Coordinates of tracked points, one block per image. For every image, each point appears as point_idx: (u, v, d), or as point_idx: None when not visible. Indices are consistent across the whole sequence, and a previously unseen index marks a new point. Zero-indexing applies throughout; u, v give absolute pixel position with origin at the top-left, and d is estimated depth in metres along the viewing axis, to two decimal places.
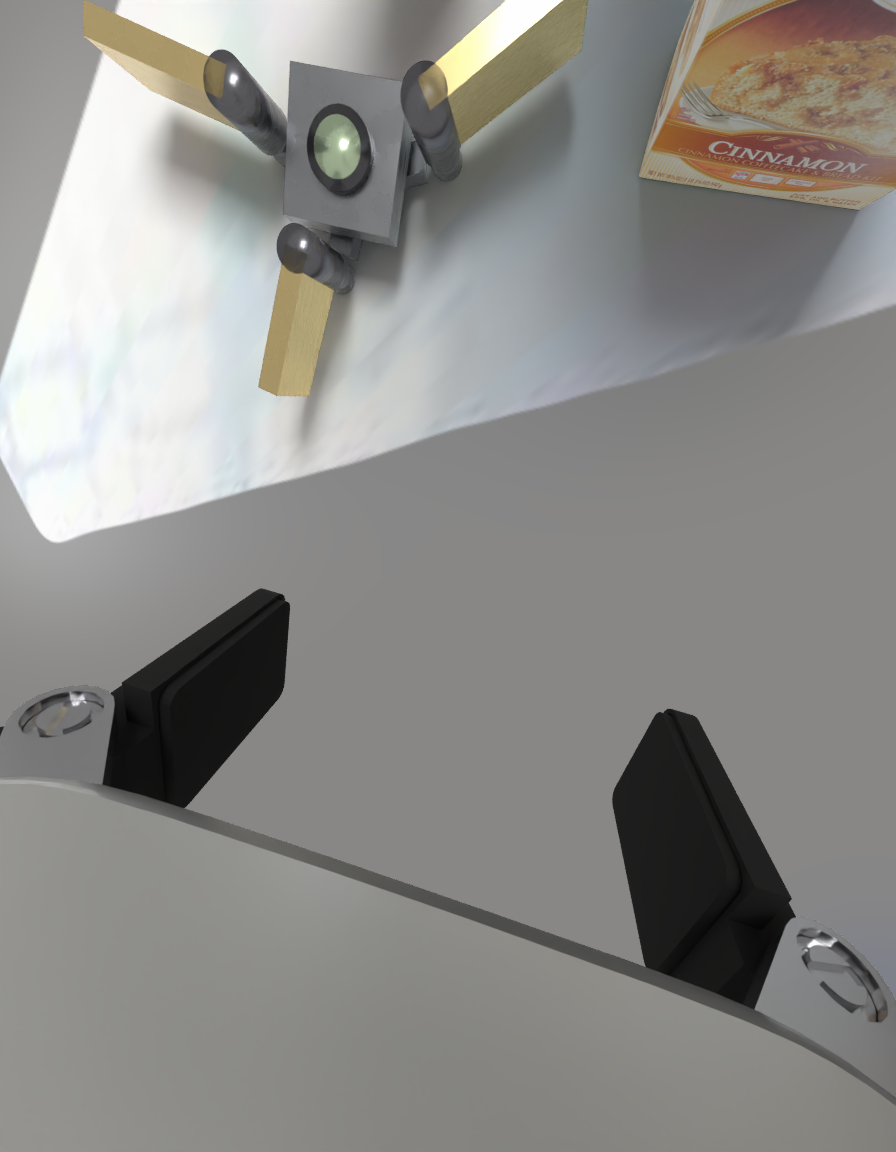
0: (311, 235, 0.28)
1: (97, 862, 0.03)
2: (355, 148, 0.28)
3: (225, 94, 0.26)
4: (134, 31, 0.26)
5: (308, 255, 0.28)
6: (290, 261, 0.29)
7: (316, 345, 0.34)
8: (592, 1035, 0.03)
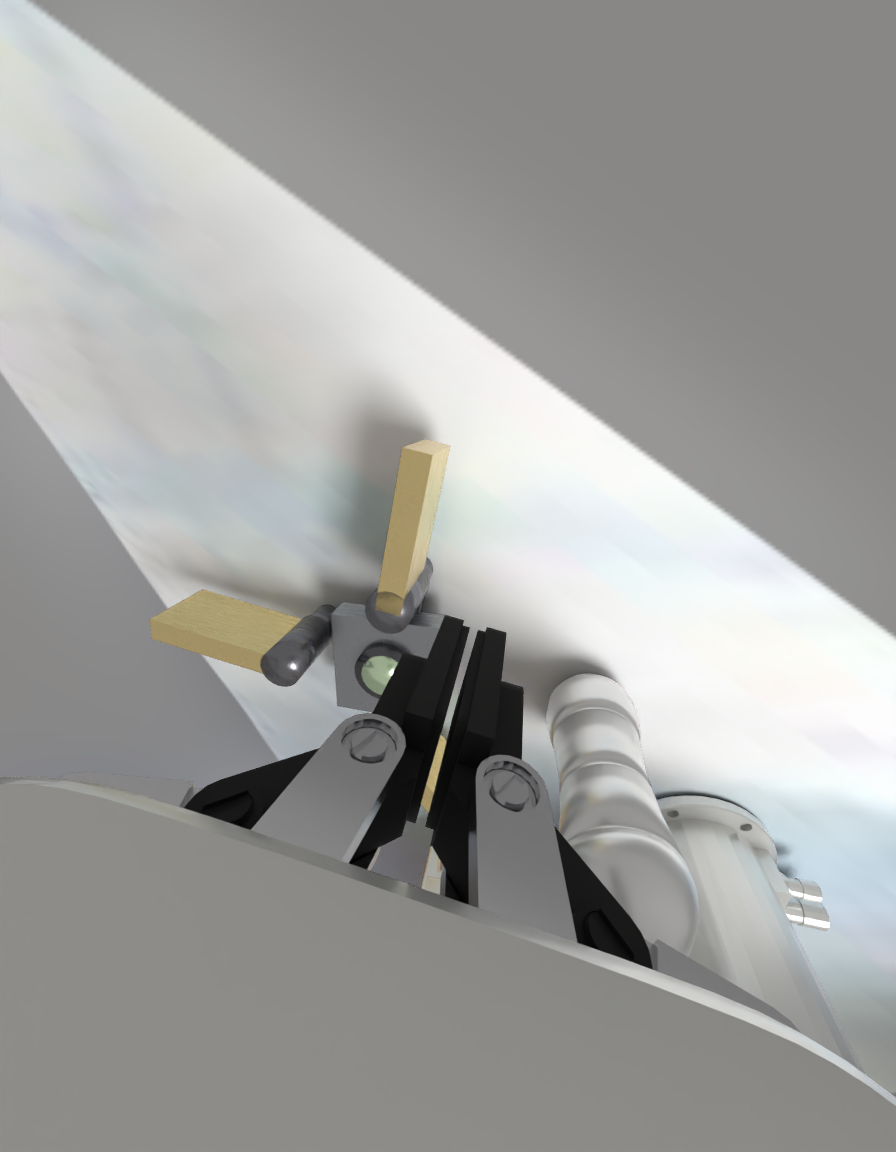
0: (294, 683, 0.28)
1: (97, 862, 0.03)
2: None
3: (378, 613, 0.25)
4: (413, 517, 0.22)
5: (278, 679, 0.29)
6: (268, 662, 0.28)
7: None
8: (592, 1035, 0.03)
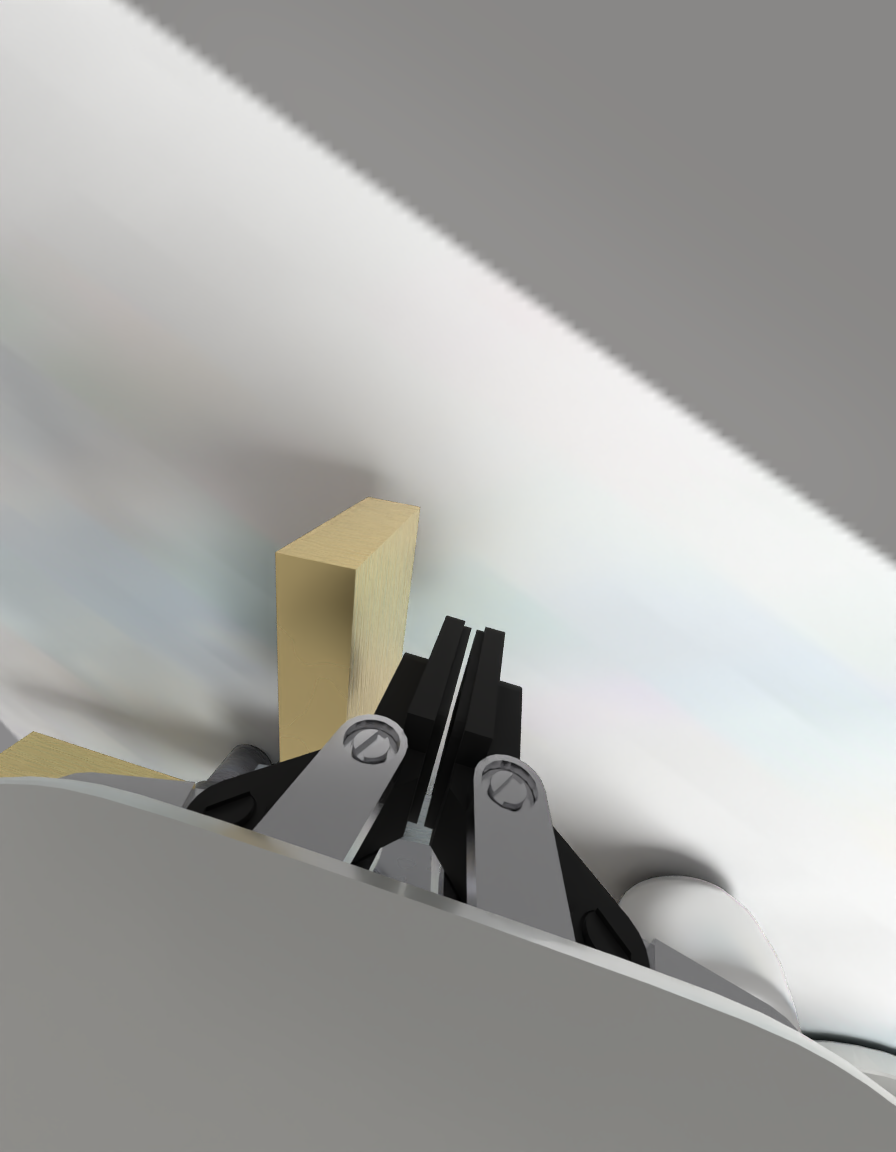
0: None
1: (97, 862, 0.03)
2: None
3: None
4: (330, 708, 0.09)
5: None
6: None
7: None
8: (593, 1035, 0.03)
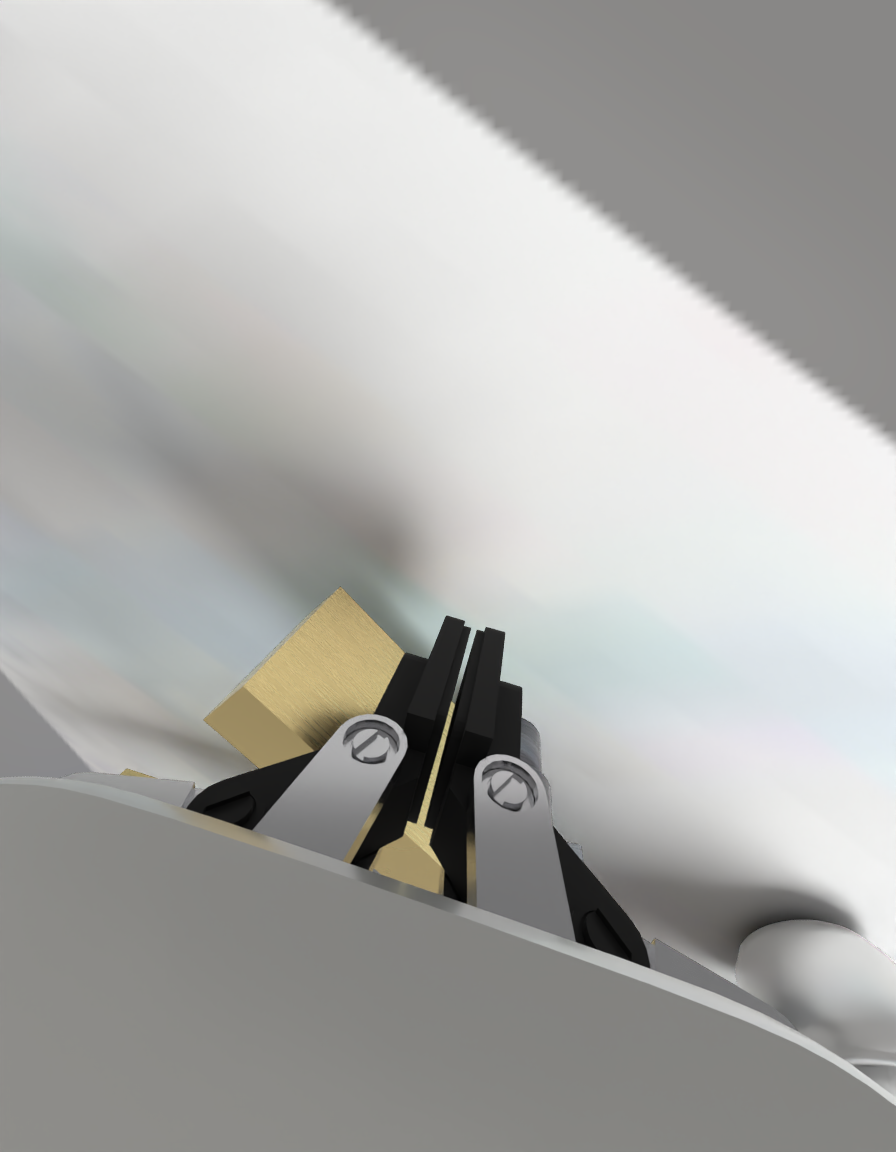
0: None
1: (96, 862, 0.03)
2: None
3: None
4: None
5: None
6: None
7: None
8: (592, 1034, 0.03)
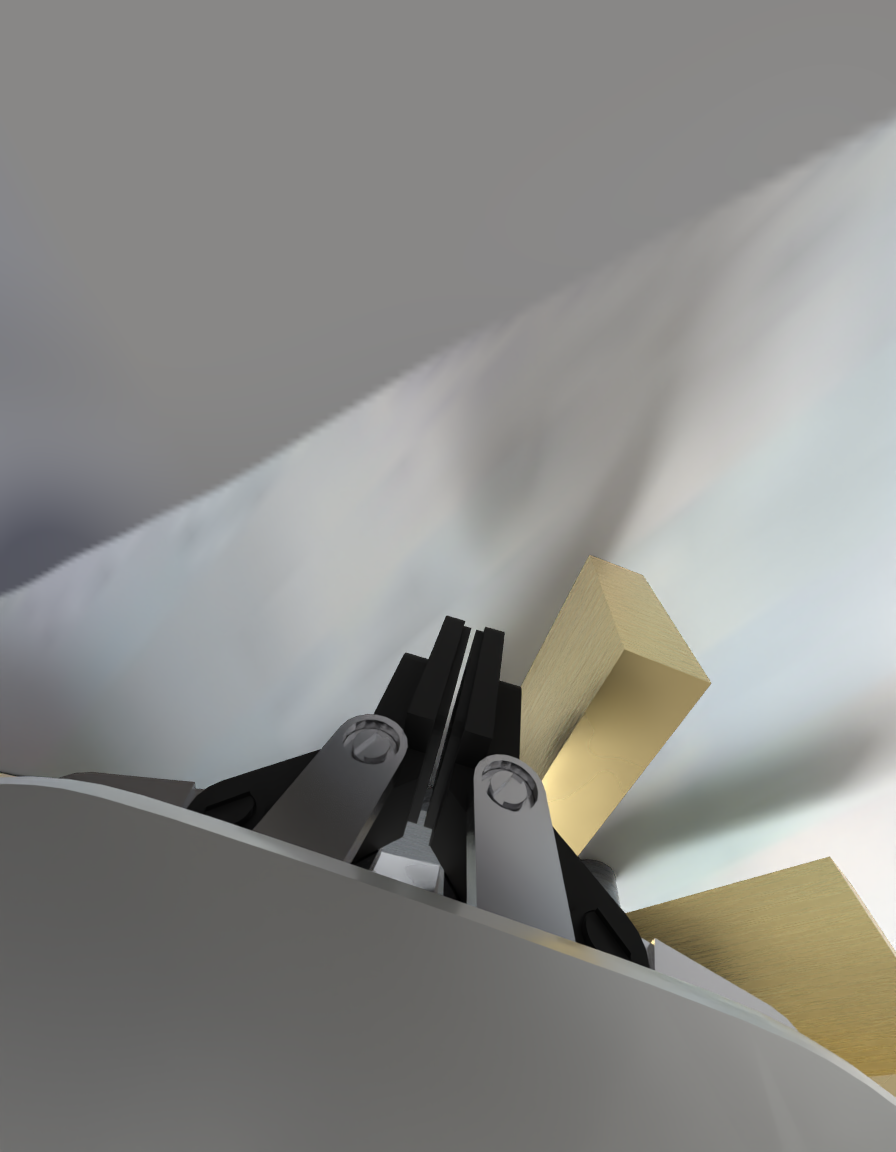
0: None
1: (97, 862, 0.03)
2: None
3: None
4: None
5: None
6: None
7: (530, 680, 0.13)
8: (592, 1035, 0.03)
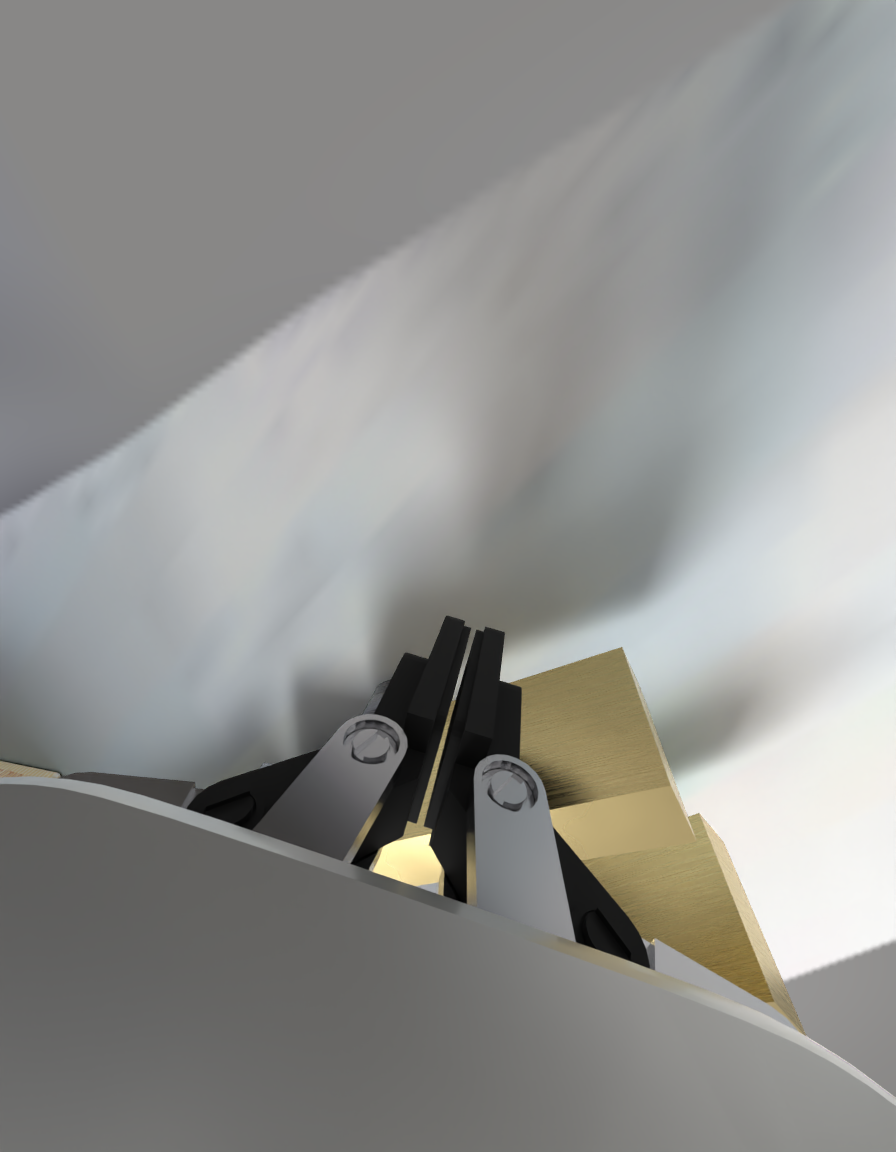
0: None
1: (97, 862, 0.03)
2: None
3: None
4: None
5: None
6: None
7: None
8: (593, 1035, 0.03)
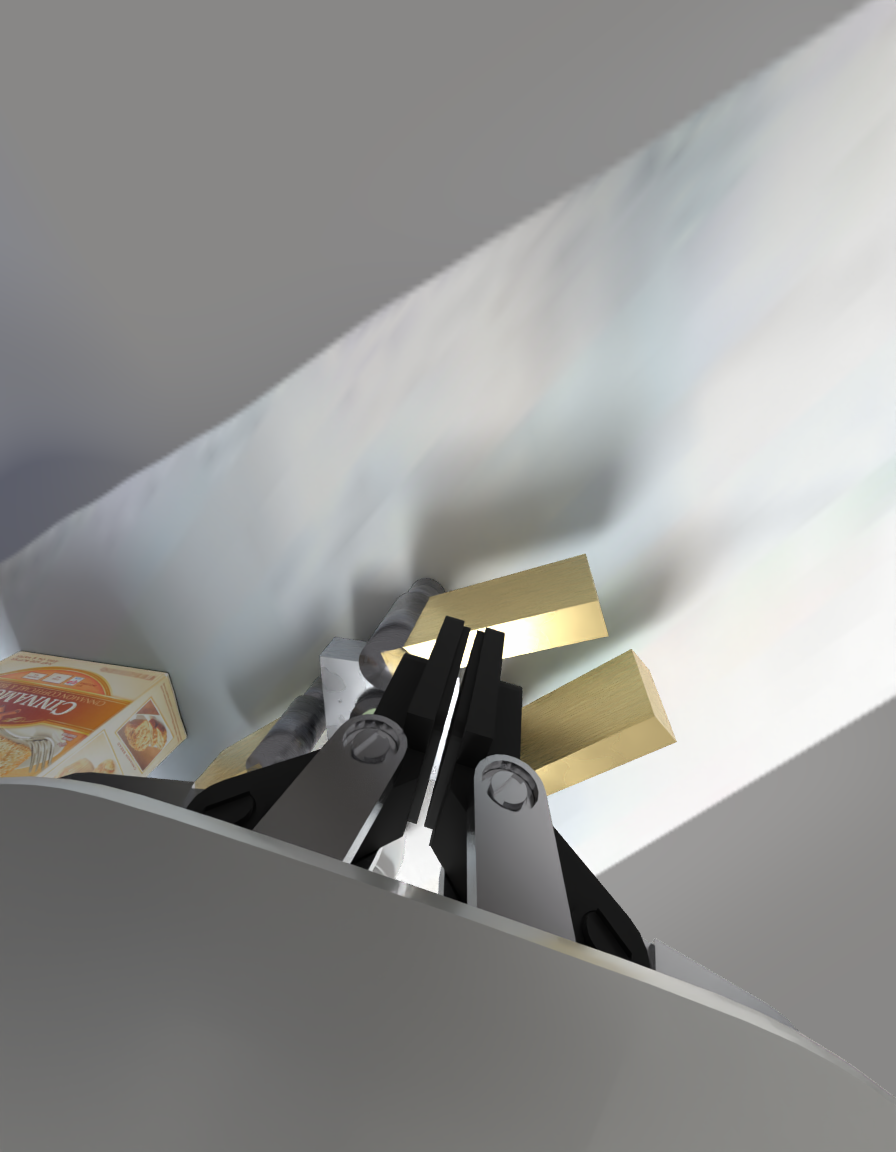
0: (360, 656, 0.19)
1: (97, 862, 0.03)
2: None
3: None
4: (599, 766, 0.19)
5: (380, 650, 0.19)
6: None
7: (502, 582, 0.21)
8: (592, 1034, 0.03)
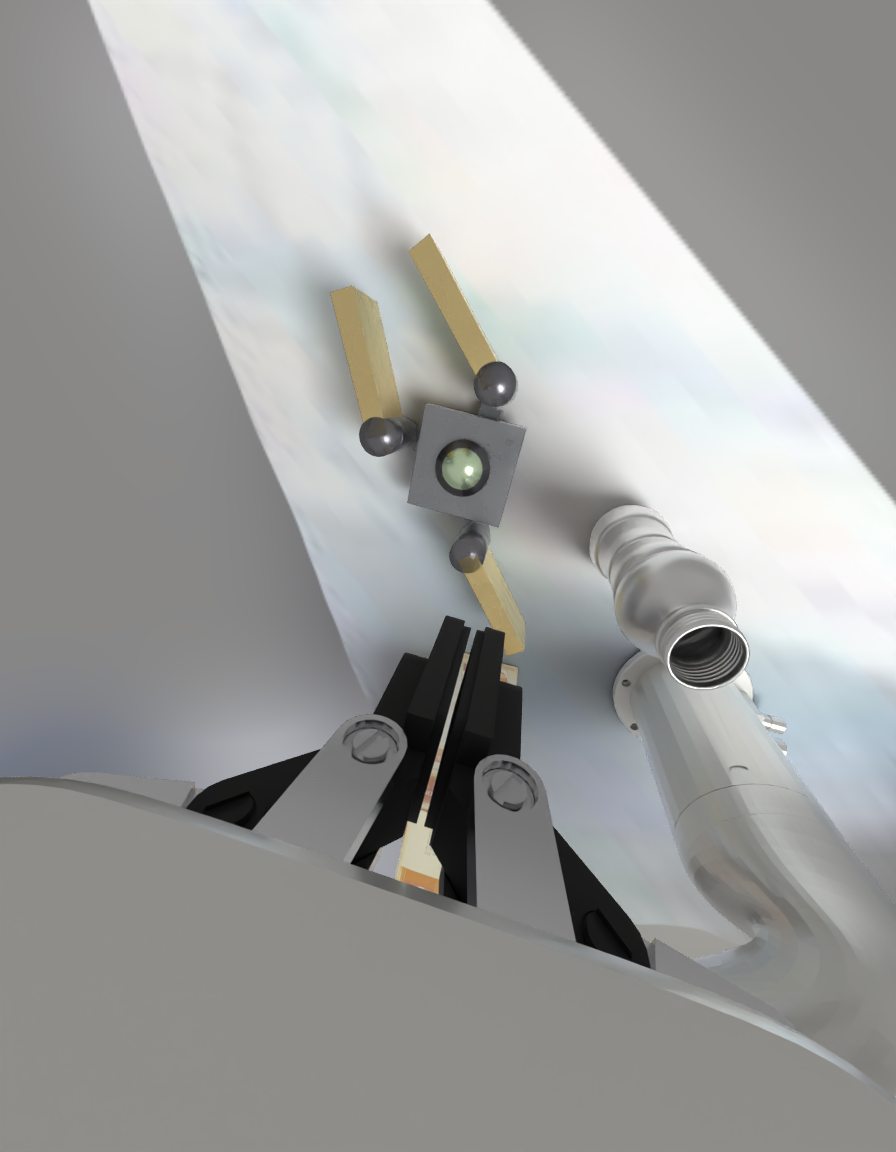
0: (371, 454, 0.32)
1: (97, 862, 0.03)
2: (459, 485, 0.34)
3: (489, 391, 0.29)
4: (453, 292, 0.27)
5: (365, 438, 0.31)
6: (377, 424, 0.31)
7: None
8: (592, 1035, 0.03)
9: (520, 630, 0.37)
